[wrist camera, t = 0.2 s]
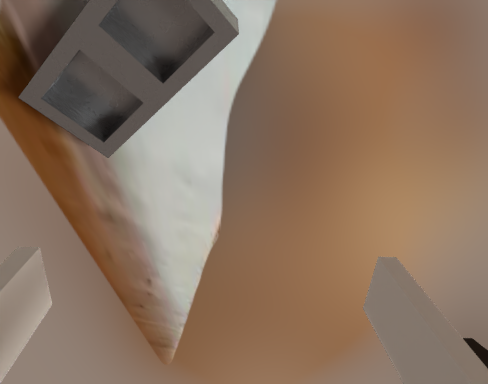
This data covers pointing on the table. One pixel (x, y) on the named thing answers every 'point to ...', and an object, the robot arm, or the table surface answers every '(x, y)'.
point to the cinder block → (126, 64)
